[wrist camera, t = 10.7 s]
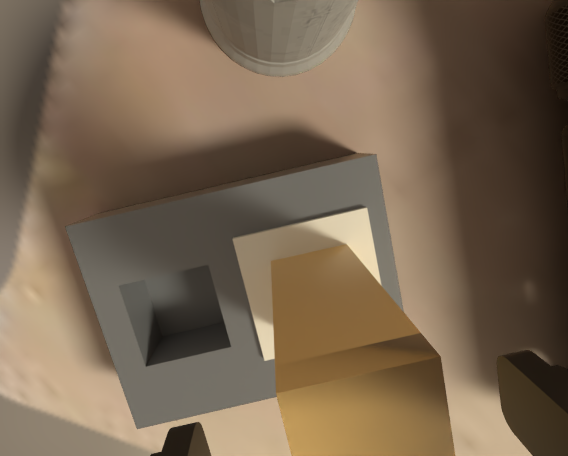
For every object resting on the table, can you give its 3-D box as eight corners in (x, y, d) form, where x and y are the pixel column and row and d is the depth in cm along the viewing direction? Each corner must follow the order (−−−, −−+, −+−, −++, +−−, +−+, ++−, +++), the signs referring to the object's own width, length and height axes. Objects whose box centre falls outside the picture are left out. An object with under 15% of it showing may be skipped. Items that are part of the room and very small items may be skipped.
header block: (98, 213, 23) (61, 227, 19) (357, 153, 23) (377, 154, 19) (156, 386, 26) (135, 432, 22) (390, 332, 26) (415, 368, 22)
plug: (270, 261, 20) (275, 393, 9) (346, 244, 20) (440, 356, 9) (287, 330, 21) (309, 527, 10) (360, 314, 21) (460, 493, 10)
